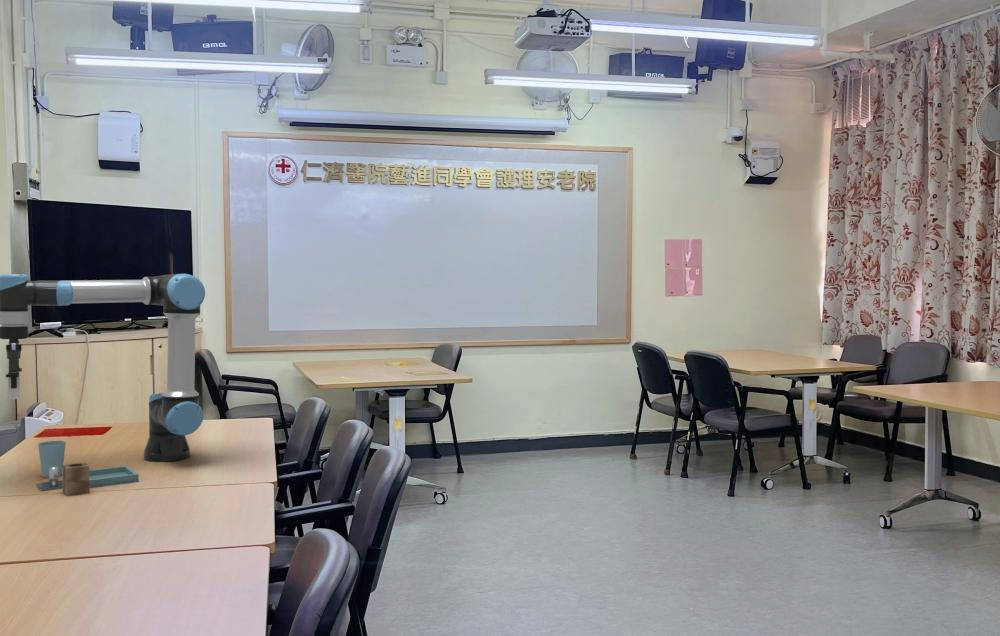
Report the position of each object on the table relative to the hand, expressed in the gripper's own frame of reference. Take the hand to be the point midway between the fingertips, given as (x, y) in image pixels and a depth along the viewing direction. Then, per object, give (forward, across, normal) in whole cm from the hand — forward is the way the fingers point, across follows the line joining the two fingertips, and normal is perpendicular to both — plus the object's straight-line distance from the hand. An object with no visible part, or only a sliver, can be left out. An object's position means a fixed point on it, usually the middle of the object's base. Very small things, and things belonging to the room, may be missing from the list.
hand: (14, 396), depth 240 cm
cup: (+27, -9, +10) cm, 30 cm away
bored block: (+27, +16, +16) cm, 35 cm away
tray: (+27, +5, +25) cm, 37 cm away
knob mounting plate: (+27, +6, +10) cm, 29 cm away
